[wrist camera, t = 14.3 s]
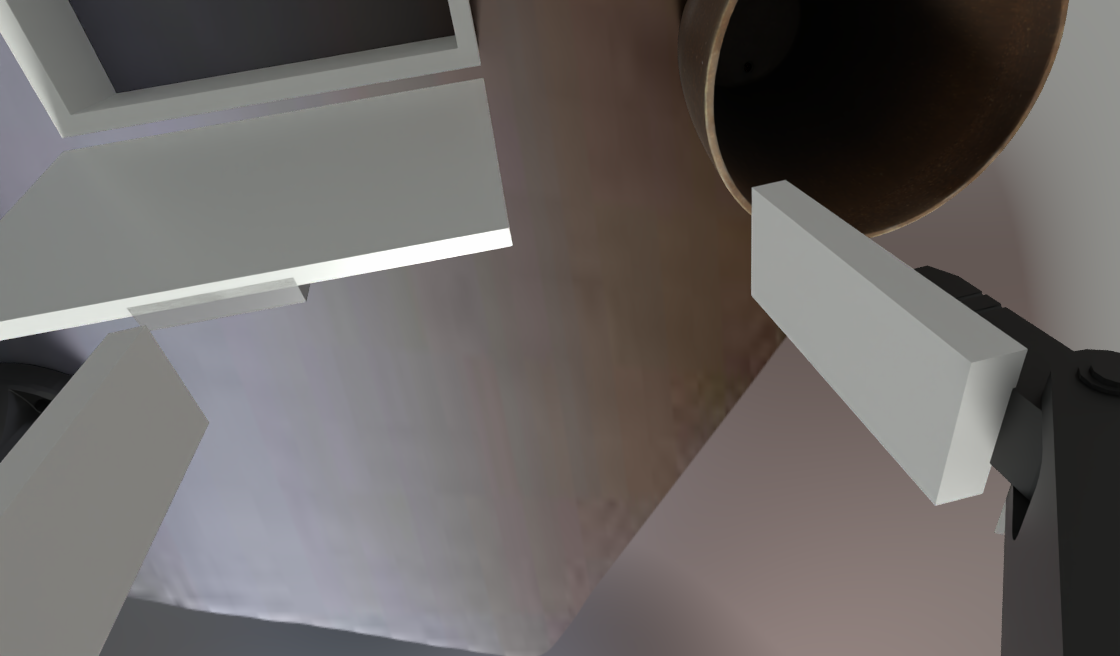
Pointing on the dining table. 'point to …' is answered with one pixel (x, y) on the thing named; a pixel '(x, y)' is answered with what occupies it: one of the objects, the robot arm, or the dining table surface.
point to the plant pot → (863, 95)
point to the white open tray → (93, 105)
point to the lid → (251, 211)
